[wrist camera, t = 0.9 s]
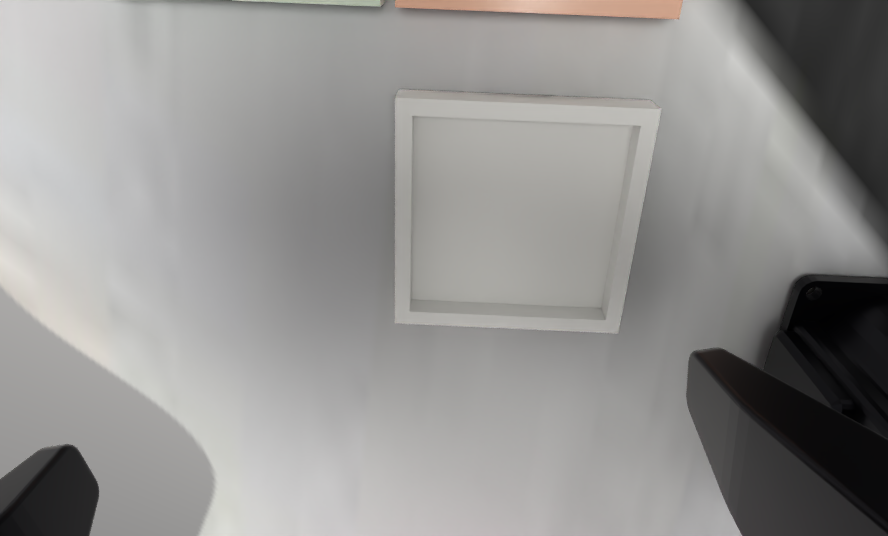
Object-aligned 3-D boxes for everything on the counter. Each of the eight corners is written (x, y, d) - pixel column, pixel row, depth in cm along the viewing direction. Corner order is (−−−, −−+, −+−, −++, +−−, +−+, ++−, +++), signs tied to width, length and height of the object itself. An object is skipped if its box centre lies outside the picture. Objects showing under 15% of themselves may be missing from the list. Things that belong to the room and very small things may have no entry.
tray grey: (650, 99, 19) (661, 109, 18) (611, 314, 23) (618, 333, 22) (399, 88, 19) (394, 97, 18) (398, 305, 23) (394, 323, 22)
